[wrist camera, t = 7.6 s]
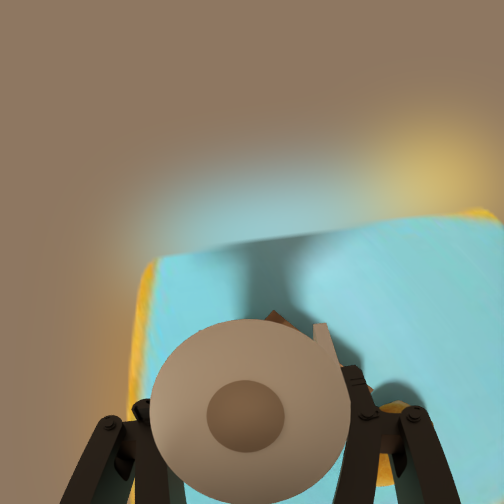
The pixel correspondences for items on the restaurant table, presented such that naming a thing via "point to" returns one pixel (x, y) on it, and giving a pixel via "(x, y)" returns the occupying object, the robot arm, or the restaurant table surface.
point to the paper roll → (250, 412)
